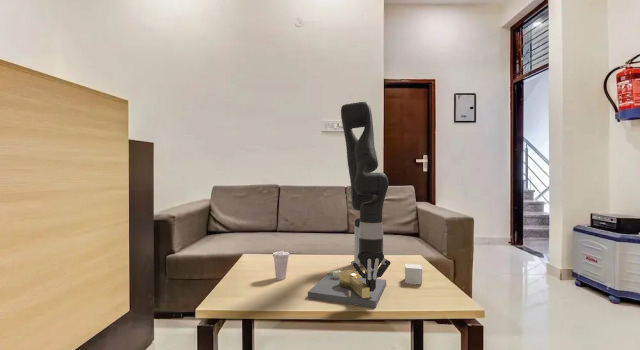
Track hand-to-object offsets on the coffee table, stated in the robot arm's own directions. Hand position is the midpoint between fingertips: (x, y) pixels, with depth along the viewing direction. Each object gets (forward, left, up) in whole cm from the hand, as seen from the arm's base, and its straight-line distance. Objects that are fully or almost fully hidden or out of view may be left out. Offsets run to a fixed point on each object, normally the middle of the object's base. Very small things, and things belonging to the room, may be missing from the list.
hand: (370, 290), depth 105 cm
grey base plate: (-7, -9, -4) cm, 12 cm away
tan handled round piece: (-2, -6, -1) cm, 6 cm away
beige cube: (-26, +11, -4) cm, 29 cm away
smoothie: (-11, -37, -4) cm, 39 cm away
